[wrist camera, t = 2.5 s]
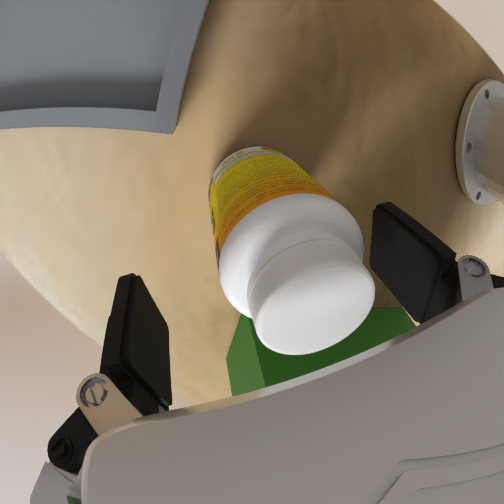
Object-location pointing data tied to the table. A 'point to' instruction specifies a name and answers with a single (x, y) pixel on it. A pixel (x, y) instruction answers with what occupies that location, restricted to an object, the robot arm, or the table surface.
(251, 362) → the hardback book
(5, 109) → the tray
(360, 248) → the supplement bottle
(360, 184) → the table surface
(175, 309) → the table surface
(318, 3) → the table surface
